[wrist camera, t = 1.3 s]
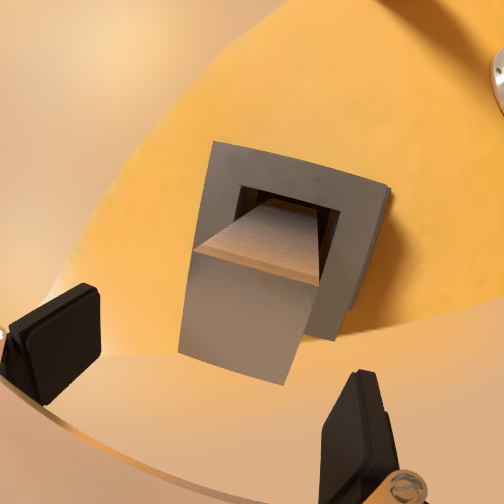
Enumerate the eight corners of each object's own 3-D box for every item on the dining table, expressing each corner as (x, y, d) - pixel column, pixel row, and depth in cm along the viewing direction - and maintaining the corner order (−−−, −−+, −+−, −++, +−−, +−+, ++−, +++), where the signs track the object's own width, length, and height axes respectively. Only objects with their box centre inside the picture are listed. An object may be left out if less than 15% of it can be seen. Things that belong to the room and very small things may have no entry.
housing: (388, 187, 30) (418, 195, 20) (350, 305, 34) (360, 353, 25) (219, 143, 32) (181, 135, 23) (195, 262, 36) (156, 294, 27)
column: (316, 209, 32) (319, 286, 11) (302, 260, 34) (278, 397, 13) (271, 197, 33) (192, 250, 12) (258, 248, 34) (176, 365, 14)
